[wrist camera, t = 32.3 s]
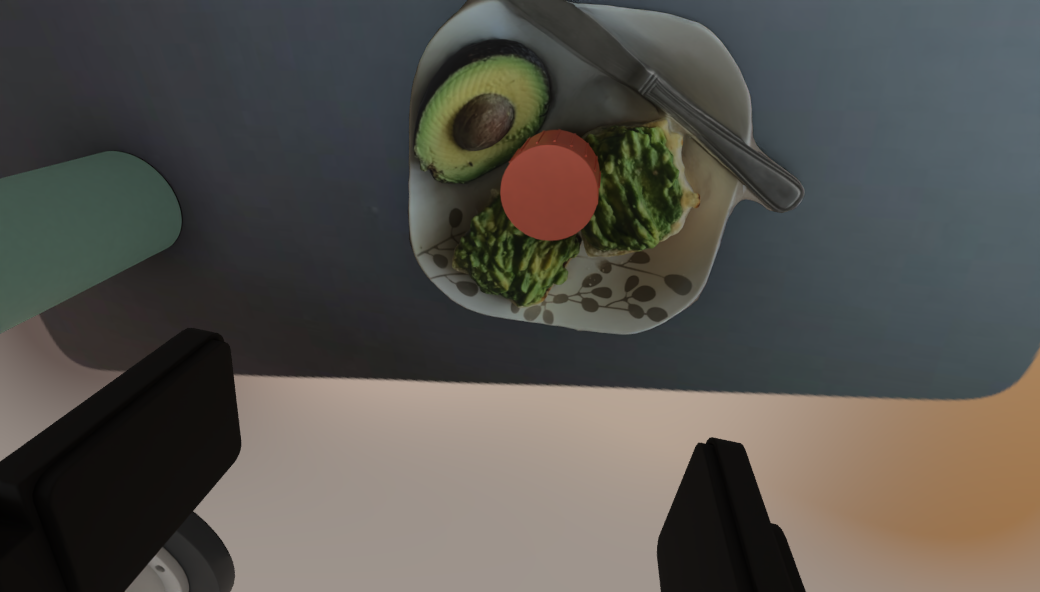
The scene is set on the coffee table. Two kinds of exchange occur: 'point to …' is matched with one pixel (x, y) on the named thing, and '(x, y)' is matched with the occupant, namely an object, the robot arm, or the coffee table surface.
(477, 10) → the salad plate
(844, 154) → the coffee table surface
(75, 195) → the bottle
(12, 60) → the coffee table surface
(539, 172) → the cap
